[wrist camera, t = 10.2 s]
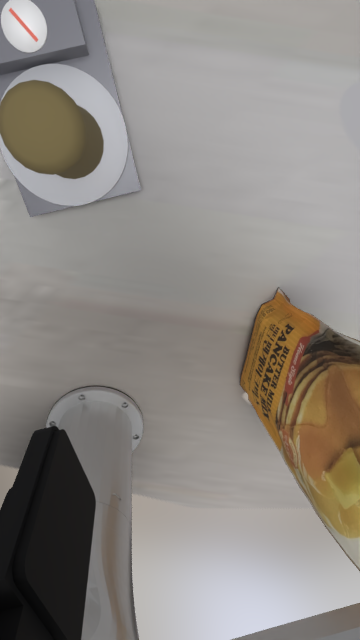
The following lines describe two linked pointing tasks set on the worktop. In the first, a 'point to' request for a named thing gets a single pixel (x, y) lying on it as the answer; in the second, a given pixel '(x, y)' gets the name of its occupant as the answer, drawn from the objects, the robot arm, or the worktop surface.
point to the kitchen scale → (78, 82)
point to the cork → (49, 130)
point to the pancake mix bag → (311, 410)
